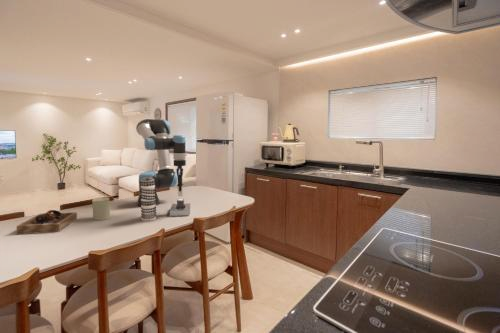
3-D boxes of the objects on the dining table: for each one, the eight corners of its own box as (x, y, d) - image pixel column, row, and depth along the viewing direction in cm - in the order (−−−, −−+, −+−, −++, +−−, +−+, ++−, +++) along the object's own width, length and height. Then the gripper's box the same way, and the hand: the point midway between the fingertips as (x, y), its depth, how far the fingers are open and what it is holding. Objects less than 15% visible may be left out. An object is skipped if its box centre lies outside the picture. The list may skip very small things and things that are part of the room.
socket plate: (169, 216, 163) (169, 210, 163) (172, 209, 179) (172, 203, 178) (189, 215, 165) (189, 209, 165) (190, 208, 181) (190, 203, 181)
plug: (177, 213, 170) (176, 200, 169) (177, 211, 174) (177, 199, 173) (183, 213, 170) (183, 200, 169) (184, 211, 174) (184, 198, 173)
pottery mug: (52, 220, 155) (59, 208, 154) (60, 230, 151) (66, 218, 151) (29, 221, 144) (36, 208, 144) (36, 231, 140) (43, 218, 140)
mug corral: (17, 233, 133) (16, 226, 132) (41, 220, 153) (40, 213, 153) (59, 231, 136) (59, 224, 136) (77, 218, 157) (76, 212, 156)
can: (113, 216, 162) (112, 197, 160) (101, 221, 153) (99, 200, 152) (102, 214, 165) (101, 196, 163) (89, 219, 156) (87, 199, 155)
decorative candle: (140, 217, 161) (139, 176, 158) (156, 215, 165) (155, 176, 162) (140, 221, 153) (138, 179, 150) (157, 220, 156) (155, 178, 153)
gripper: (185, 160, 162) (185, 198, 165) (186, 158, 175) (186, 193, 178) (172, 160, 161) (173, 198, 164) (174, 158, 173) (175, 193, 176)
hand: (180, 195), depth 171 cm, fingers closed
